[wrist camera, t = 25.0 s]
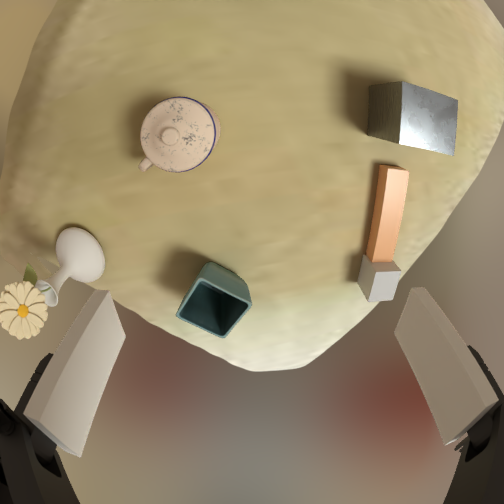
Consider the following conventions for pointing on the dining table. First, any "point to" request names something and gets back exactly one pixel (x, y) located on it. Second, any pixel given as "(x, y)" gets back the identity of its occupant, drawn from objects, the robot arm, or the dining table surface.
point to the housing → (413, 116)
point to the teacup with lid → (178, 134)
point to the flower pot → (215, 300)
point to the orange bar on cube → (384, 236)
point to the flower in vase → (50, 283)
